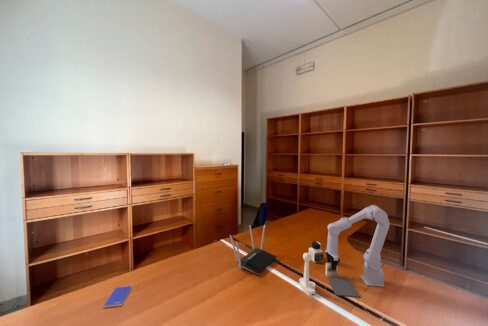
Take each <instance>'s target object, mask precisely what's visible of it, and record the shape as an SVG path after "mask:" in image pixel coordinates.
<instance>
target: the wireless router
mask: <svg viewBox="0 0 488 326" xmlns="http://www.w3.org/2000/svg"><path fill="white" fill-rule="evenodd" d="M248 226H249V232H250V238H251V246H252V250H251V251H250V252H249V253H247V254H246V255H245V256H242V258H241V256H240V249H239V242H238V241H235V243H234V239H233V236H232V235H231V234H229V237H230V241H231V244H232V248H233V252H234V255H235V259H236V263H237V264H238V268H239V269H242V268H243V269H246V271H249V272H251V273H254V274H255V275H260V274H261V273H262V272H263V271H264V270H265V269H266V268H267V267H268V266H270V265H271V263H273V262H274V261H275V260H276V259H277V256H275V255H274V254H271V253H270V252H268V251H266V250H264V249H263V248H264V239H265V232H266V231H265V230H266V224H264V225H263V229H262V236H261V243H260V248H258V247H256V248H255V245H254V244H255V243H254V237H253V232H252V231H253V230H252V226H251V225H250V224H249V225H248Z"/></svg>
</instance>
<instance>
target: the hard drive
mask: <svg viewBox="0 0 488 326" xmlns="http://www.w3.org/2000/svg"><path fill="white" fill-rule="evenodd" d="M132 288H133V287H132V286H131V285H130V286H119V287H115V288H114V289H113V291H112V292H111V293H110V294H109V296H108V298H107V300H106V301H105V302H104V303H103V306H102V308H103V309H104V308H112V307H121V306H123V304H124V302H125V301H126V298H127V297H128V295H129V294H130V291H131V289H132Z"/></svg>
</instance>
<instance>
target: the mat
mask: <svg viewBox="0 0 488 326" xmlns="http://www.w3.org/2000/svg"><path fill="white" fill-rule="evenodd" d="M327 280H328V283H329V284H330V287H331V289H332V291H333V293H334V295H335V296H338V297H339V296H340V297H347V298H348V297H349V298H361V295H360V293H358V291H357V289H356V288H355V285H354V284H353V283H352V282H351V280H350V279H349V278H343V277H342V278H341V277H327Z"/></svg>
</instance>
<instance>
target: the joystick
mask: <svg viewBox="0 0 488 326" xmlns="http://www.w3.org/2000/svg"><path fill="white" fill-rule="evenodd" d="M302 259H303V261H304V269H303V277H300V278H299V280H298V282H299V285H300V288H301V290H302V291H303V292H304V293H305V294H306V295H307V296H309V297H311V296H313V295H316V290H315V289H316V283H315V282H313V281H311V280H310V262H311V261H312V260H311V255H310V254H309V252H304V253H303V255H302Z"/></svg>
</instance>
